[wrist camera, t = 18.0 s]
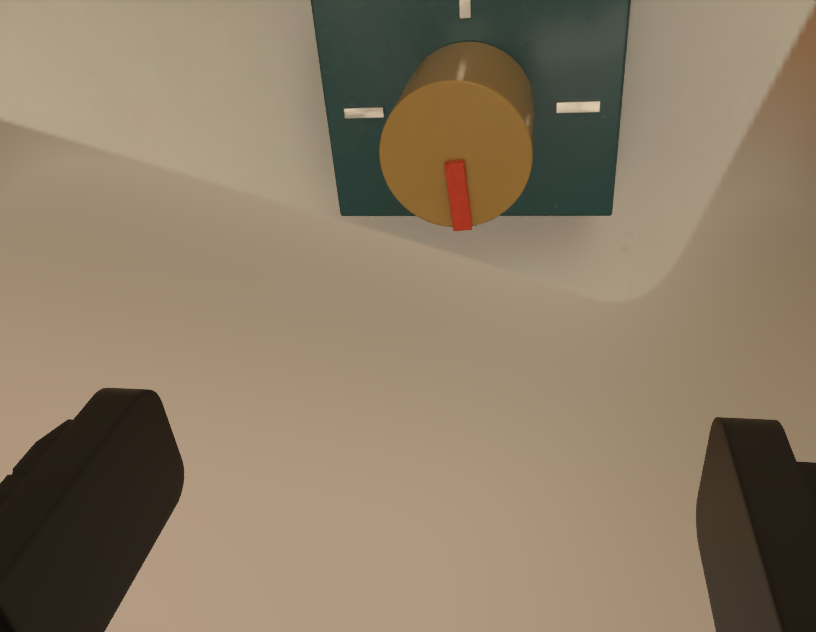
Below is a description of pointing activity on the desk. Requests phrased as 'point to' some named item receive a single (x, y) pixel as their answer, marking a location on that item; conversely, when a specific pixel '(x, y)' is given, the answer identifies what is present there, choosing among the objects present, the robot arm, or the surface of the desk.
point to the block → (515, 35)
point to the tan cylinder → (460, 136)
